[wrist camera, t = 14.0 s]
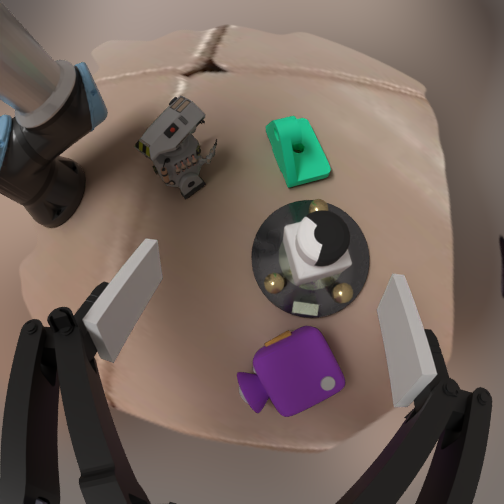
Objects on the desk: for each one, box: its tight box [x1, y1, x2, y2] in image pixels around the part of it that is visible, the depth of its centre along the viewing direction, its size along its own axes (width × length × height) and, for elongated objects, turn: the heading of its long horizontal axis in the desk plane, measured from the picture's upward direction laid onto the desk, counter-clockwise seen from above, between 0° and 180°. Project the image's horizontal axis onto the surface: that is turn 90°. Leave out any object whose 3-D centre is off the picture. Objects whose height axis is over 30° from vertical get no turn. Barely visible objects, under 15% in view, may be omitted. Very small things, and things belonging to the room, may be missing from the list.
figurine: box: [134, 96, 217, 199], centre depth 42 cm, size 9×12×15 cm
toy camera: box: [237, 326, 345, 417], centre depth 36 cm, size 11×14×10 cm
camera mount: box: [266, 116, 331, 188], centre depth 44 cm, size 12×8×10 cm, turn 16°
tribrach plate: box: [252, 199, 369, 318], centre depth 43 cm, size 18×18×4 cm
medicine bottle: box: [283, 210, 352, 285], centre depth 37 cm, size 7×7×12 cm
